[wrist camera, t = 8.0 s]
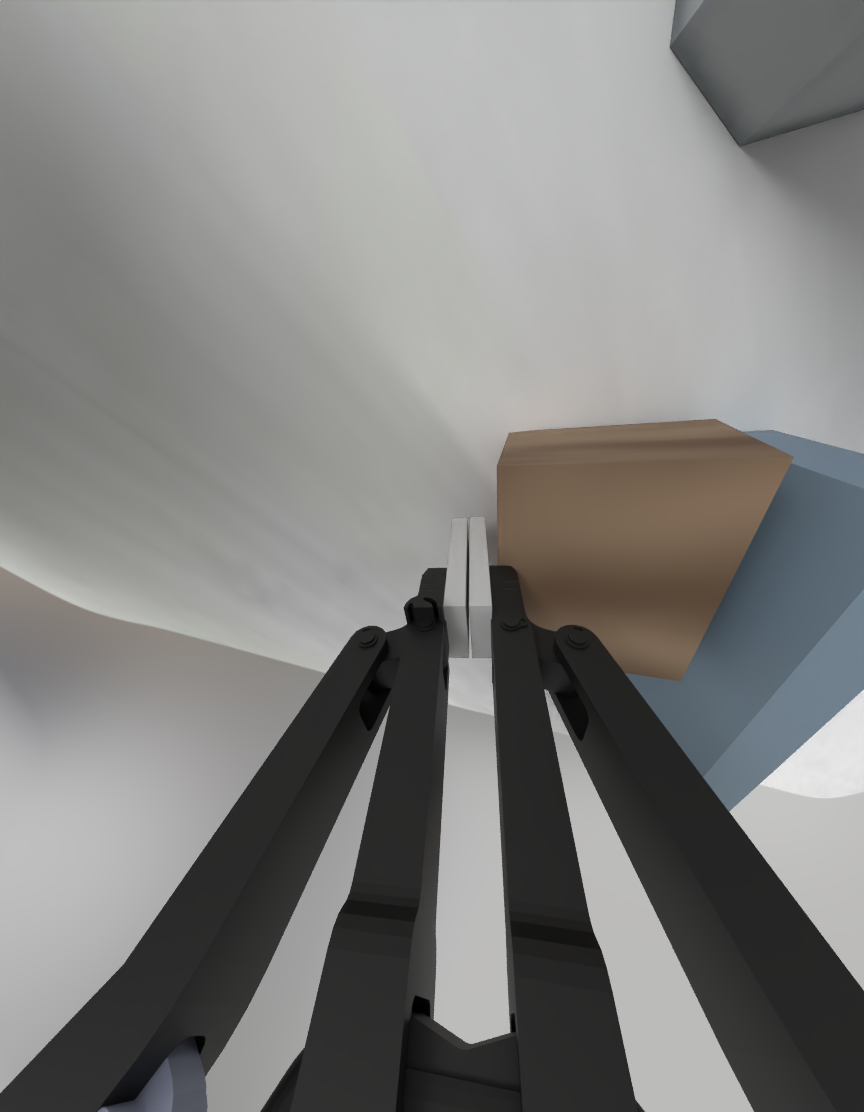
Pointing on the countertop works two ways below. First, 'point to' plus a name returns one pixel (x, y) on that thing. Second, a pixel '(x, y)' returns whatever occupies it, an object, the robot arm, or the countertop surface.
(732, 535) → the walnut block
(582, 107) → the countertop surface
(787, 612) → the slate board
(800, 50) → the coffee maker
